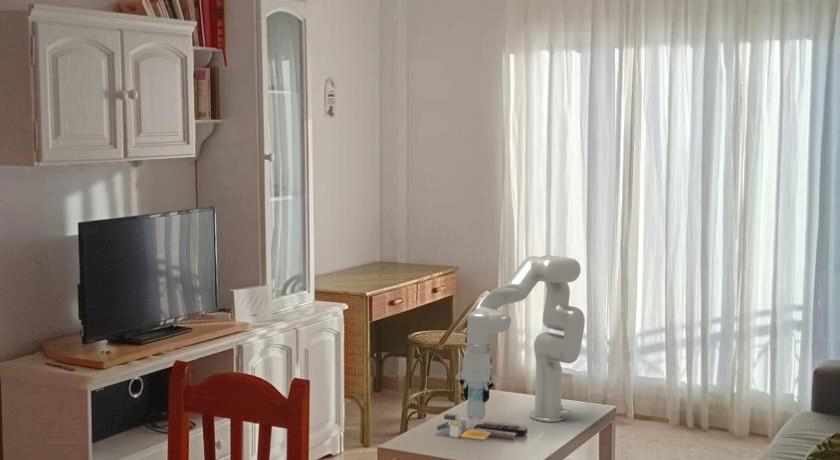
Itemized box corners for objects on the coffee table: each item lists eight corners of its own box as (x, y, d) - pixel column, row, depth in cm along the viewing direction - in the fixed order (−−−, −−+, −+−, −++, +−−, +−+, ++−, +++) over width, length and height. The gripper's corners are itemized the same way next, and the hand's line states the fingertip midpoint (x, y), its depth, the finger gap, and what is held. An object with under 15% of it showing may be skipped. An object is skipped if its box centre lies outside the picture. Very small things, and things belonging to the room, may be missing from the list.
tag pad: (491, 433, 355) (491, 432, 355) (483, 440, 347) (483, 439, 347) (467, 430, 358) (467, 429, 358) (459, 436, 350) (459, 436, 350)
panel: (493, 434, 357) (494, 419, 357) (482, 444, 345) (482, 428, 344) (447, 428, 363) (447, 413, 363) (434, 438, 351) (435, 422, 351)
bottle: (487, 417, 354) (489, 360, 352) (482, 422, 348) (484, 364, 346) (469, 414, 356) (470, 358, 354) (463, 419, 350) (465, 362, 348)
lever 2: (459, 419, 360) (459, 415, 360) (457, 420, 357) (457, 417, 357) (446, 417, 362) (446, 413, 362) (443, 419, 359) (444, 415, 359)
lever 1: (452, 424, 352) (451, 420, 352) (450, 426, 350) (448, 422, 350) (440, 428, 354) (439, 425, 354) (437, 430, 352) (436, 427, 352)
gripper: (505, 348, 350) (503, 400, 352) (457, 343, 356) (456, 394, 358) (499, 352, 343) (497, 405, 345) (450, 347, 349) (448, 399, 351)
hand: (476, 399), depth 351 cm, fingers closed on bottle, 5 cm apart
